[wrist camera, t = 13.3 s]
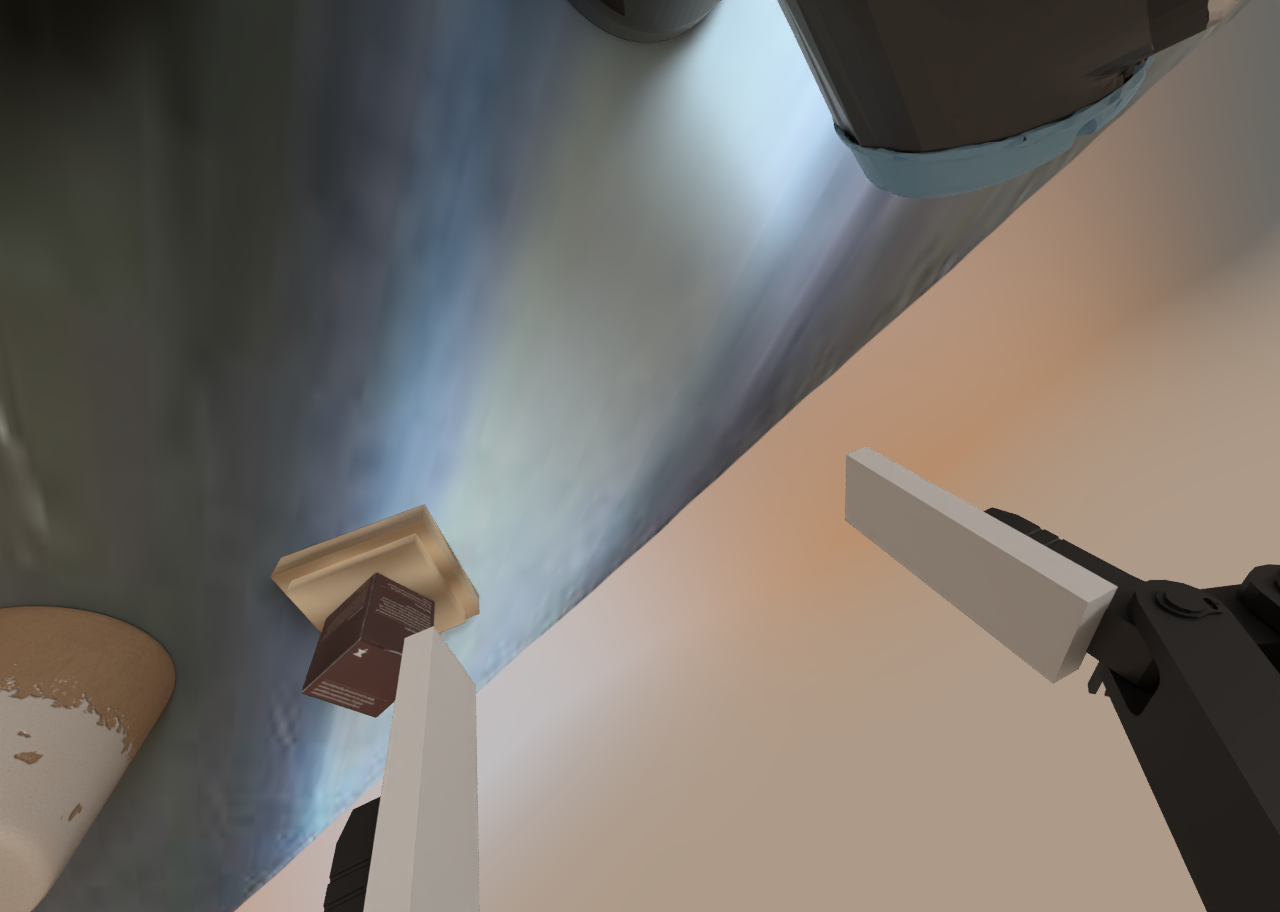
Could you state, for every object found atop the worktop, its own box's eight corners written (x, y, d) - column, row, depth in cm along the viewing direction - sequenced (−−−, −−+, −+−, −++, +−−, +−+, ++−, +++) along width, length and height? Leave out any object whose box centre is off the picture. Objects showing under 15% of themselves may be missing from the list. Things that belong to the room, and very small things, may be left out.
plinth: (281, 557, 38) (263, 589, 34) (424, 504, 40) (420, 529, 37) (357, 646, 44) (349, 680, 41) (478, 595, 46) (480, 624, 43)
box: (324, 616, 37) (296, 693, 31) (377, 568, 37) (359, 637, 31) (389, 645, 40) (375, 720, 34) (438, 601, 40) (433, 669, 34)
